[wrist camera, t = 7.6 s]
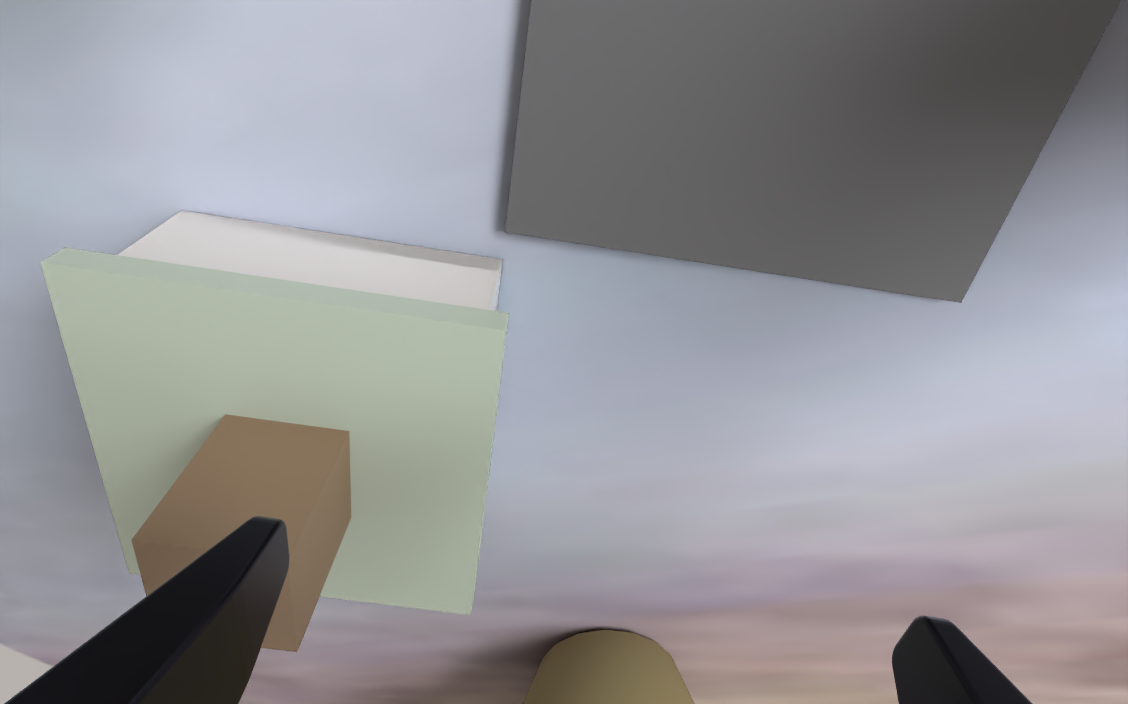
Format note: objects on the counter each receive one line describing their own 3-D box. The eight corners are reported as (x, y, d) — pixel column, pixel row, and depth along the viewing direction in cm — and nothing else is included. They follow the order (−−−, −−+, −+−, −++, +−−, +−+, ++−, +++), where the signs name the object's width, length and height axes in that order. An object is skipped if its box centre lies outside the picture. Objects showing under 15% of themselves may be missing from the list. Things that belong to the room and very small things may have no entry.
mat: (1272, -318, 13) (1291, -324, 12) (954, 296, 19) (961, 302, 19) (585, -464, 12) (585, -475, 12) (506, 226, 19) (504, 232, 18)
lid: (509, 312, 16) (481, 447, 12) (474, 593, 21) (447, 753, 17) (64, 247, 15) (-129, 364, 11) (144, 551, 20) (33, 707, 16)
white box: (503, 259, 19) (484, 329, 16) (476, 489, 24) (458, 581, 21) (181, 210, 19) (92, 272, 15) (219, 454, 24) (157, 543, 20)
